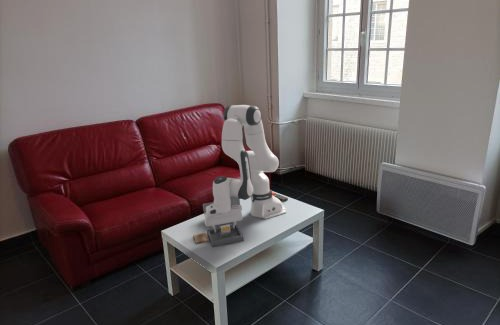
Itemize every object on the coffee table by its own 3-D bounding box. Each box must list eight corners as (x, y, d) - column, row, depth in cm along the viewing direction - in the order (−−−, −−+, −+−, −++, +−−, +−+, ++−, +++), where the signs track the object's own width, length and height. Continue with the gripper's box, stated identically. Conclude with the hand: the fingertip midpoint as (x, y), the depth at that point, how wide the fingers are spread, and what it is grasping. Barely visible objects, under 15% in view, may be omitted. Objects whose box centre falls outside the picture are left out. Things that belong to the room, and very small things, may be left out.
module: (228, 232, 201) (227, 219, 198) (231, 238, 195) (229, 224, 192) (219, 234, 199) (218, 221, 197) (221, 239, 194) (220, 226, 191)
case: (236, 229, 206) (236, 224, 205) (243, 240, 193) (243, 235, 192) (207, 235, 202) (207, 230, 201) (212, 247, 189) (212, 242, 188)
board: (206, 233, 203) (205, 232, 202) (209, 241, 195) (209, 239, 194) (193, 236, 201) (193, 234, 201) (196, 244, 193) (196, 242, 192)
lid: (236, 223, 205) (235, 223, 206) (232, 198, 206) (232, 198, 207) (206, 229, 201) (206, 228, 202) (202, 203, 202) (202, 203, 203)
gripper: (239, 201, 198) (241, 224, 202) (202, 207, 192) (205, 231, 196) (243, 205, 192) (244, 229, 196) (205, 212, 186) (207, 236, 190)
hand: (224, 230), depth 196 cm, fingers open, 8 cm apart
